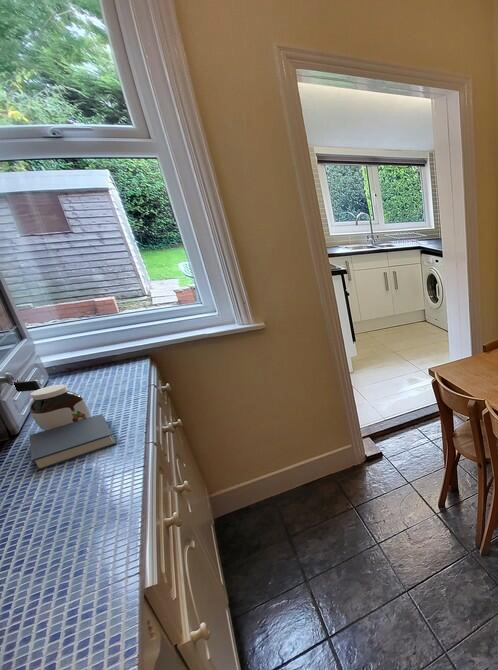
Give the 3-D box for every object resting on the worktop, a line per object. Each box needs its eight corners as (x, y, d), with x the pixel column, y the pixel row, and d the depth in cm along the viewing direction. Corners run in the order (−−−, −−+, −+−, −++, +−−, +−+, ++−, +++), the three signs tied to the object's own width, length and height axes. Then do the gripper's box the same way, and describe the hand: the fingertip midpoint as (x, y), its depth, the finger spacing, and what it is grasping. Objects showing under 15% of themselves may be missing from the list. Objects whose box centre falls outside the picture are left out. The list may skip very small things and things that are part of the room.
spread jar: (55, 438, 109) (31, 399, 104) (31, 433, 113) (7, 395, 108) (107, 416, 119) (88, 380, 114) (84, 412, 123) (64, 377, 118)
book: (35, 445, 106) (29, 435, 105) (107, 423, 116) (102, 413, 114) (38, 470, 95) (30, 460, 94) (116, 444, 104) (111, 434, 103)
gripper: (-16, 395, 122) (61, 388, 124) (-124, 440, 100) (-29, 431, 101) (-31, 372, 119) (48, 365, 121) (-146, 413, 97) (-48, 404, 98)
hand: (13, 395), depth 111 cm, fingers open, 13 cm apart
